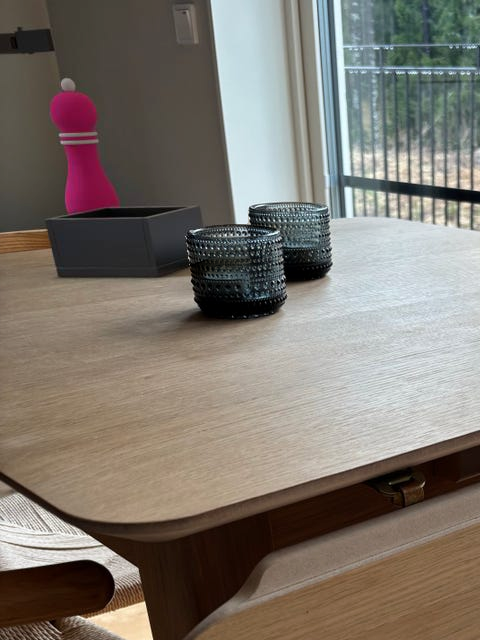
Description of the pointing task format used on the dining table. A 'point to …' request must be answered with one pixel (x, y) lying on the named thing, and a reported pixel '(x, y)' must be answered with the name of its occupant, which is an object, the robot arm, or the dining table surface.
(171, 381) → the dining table surface
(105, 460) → the dining table surface
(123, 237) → the basin
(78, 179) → the pepper mill
